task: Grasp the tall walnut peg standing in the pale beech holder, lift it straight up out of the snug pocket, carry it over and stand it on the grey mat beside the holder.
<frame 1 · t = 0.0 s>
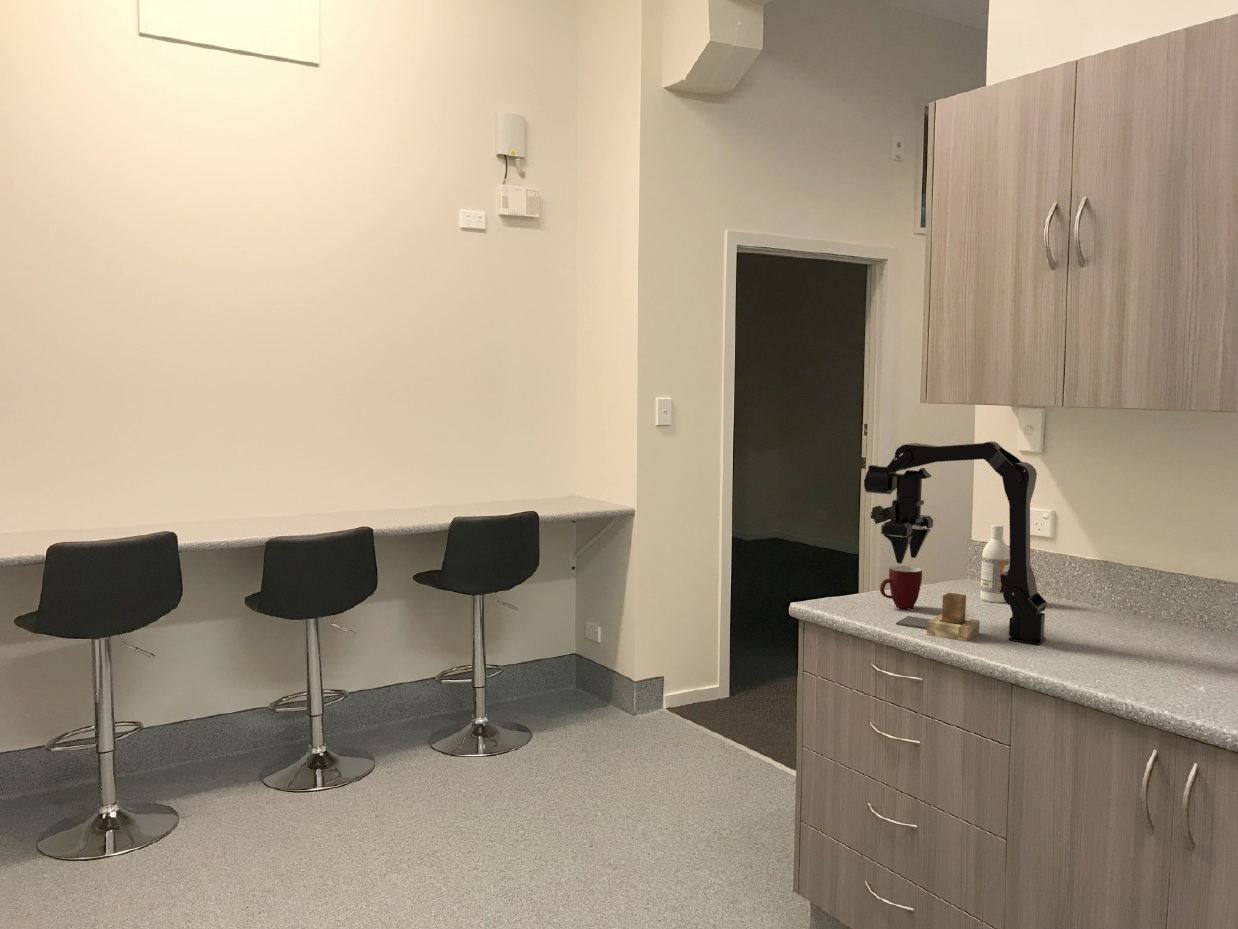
hand: (906, 560, 236), 15 cm above the counter, fingers open, 9 cm apart
peg: (953, 634, 225), resting in holder
mat: (918, 623, 234), on the counter
bath foam: (994, 601, 259), on the counter
mug: (899, 608, 250), on the counter
holder: (953, 633, 225), on the counter
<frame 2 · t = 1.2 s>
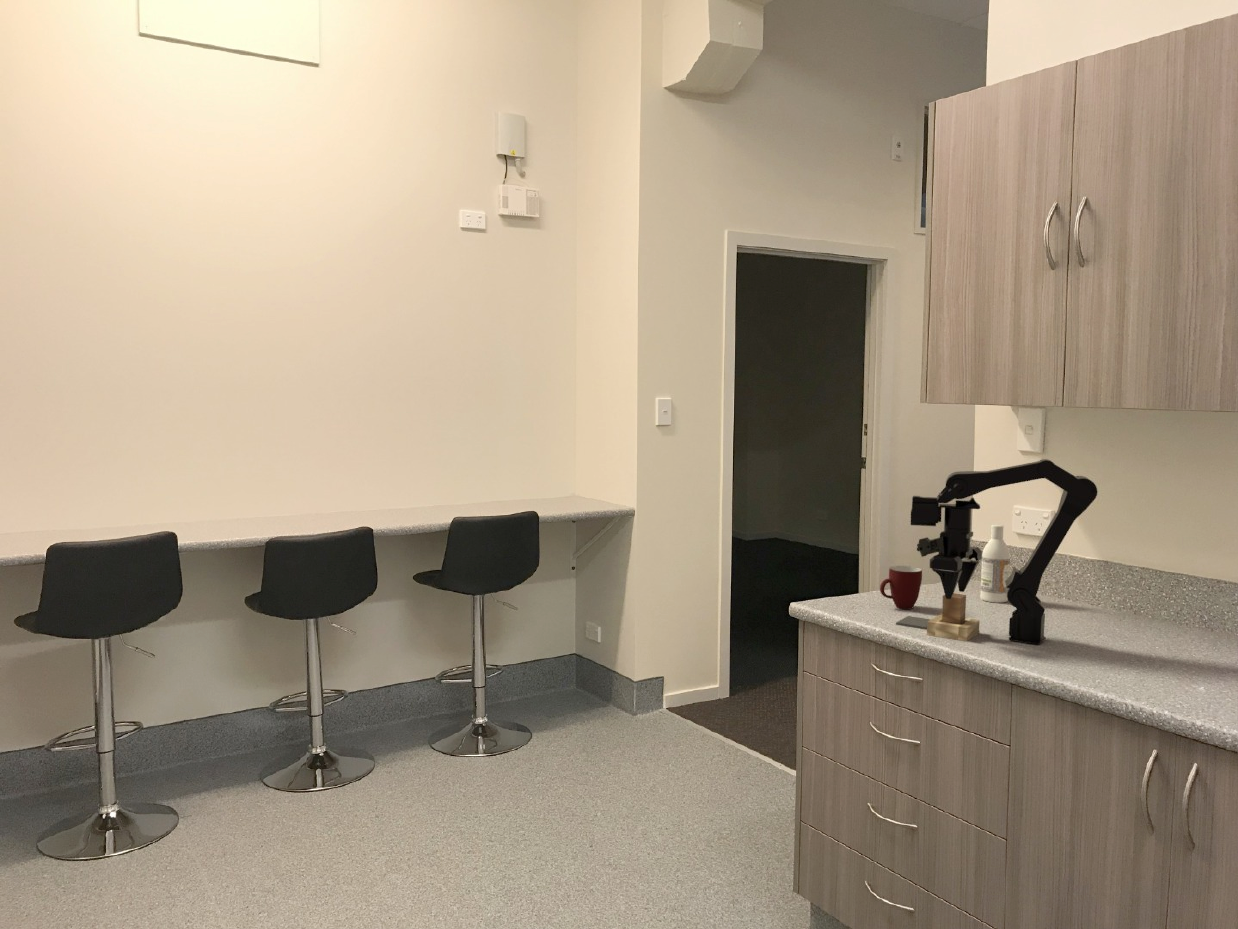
hand: (955, 595, 224), 9 cm above the counter, fingers open, 9 cm apart
nothing on the counter moved.
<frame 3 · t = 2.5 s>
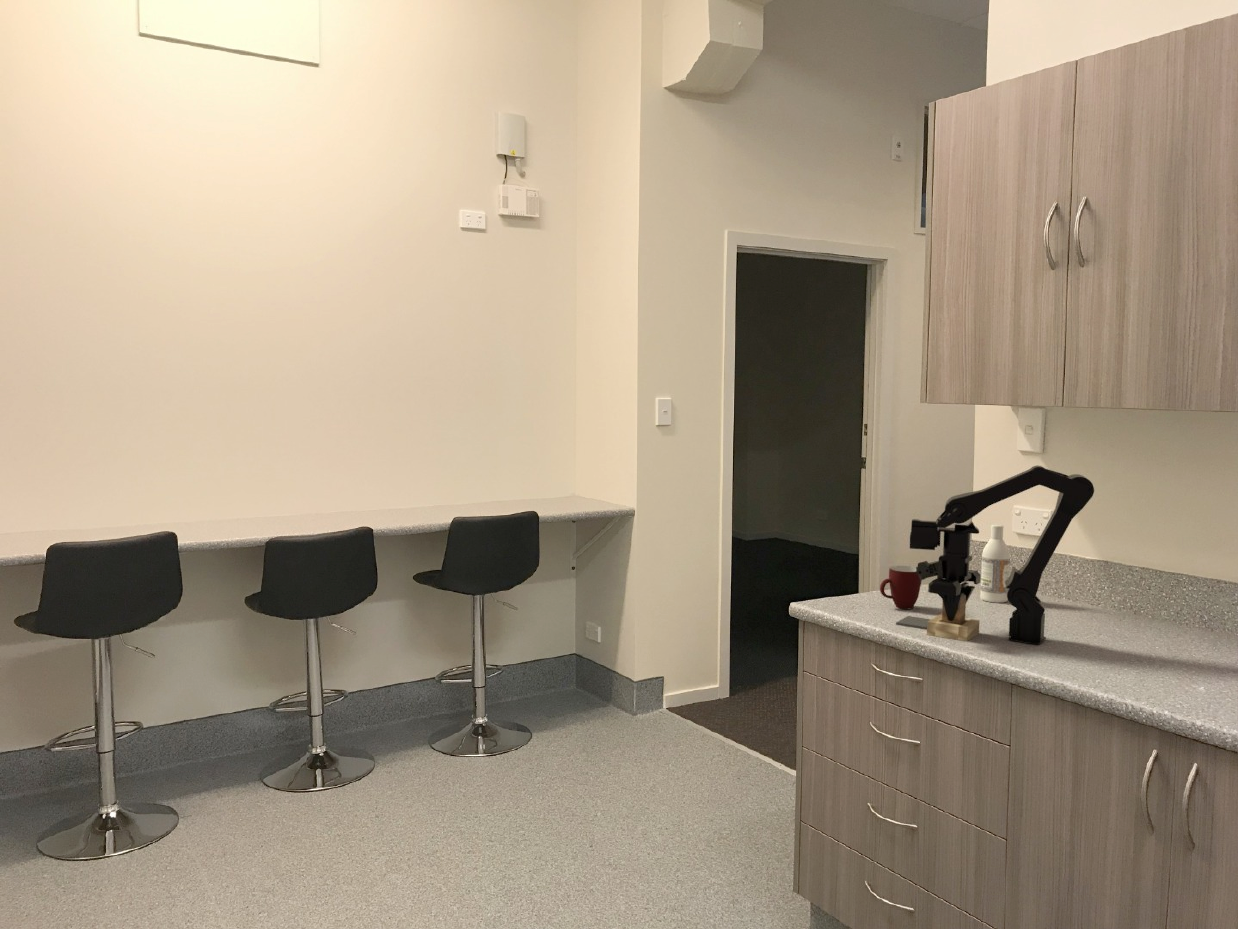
hand: (953, 618, 225), 4 cm above the counter, fingers closed on peg, 4 cm apart
peg: (952, 633, 225), resting in holder, touching gripper
everything else where it was.
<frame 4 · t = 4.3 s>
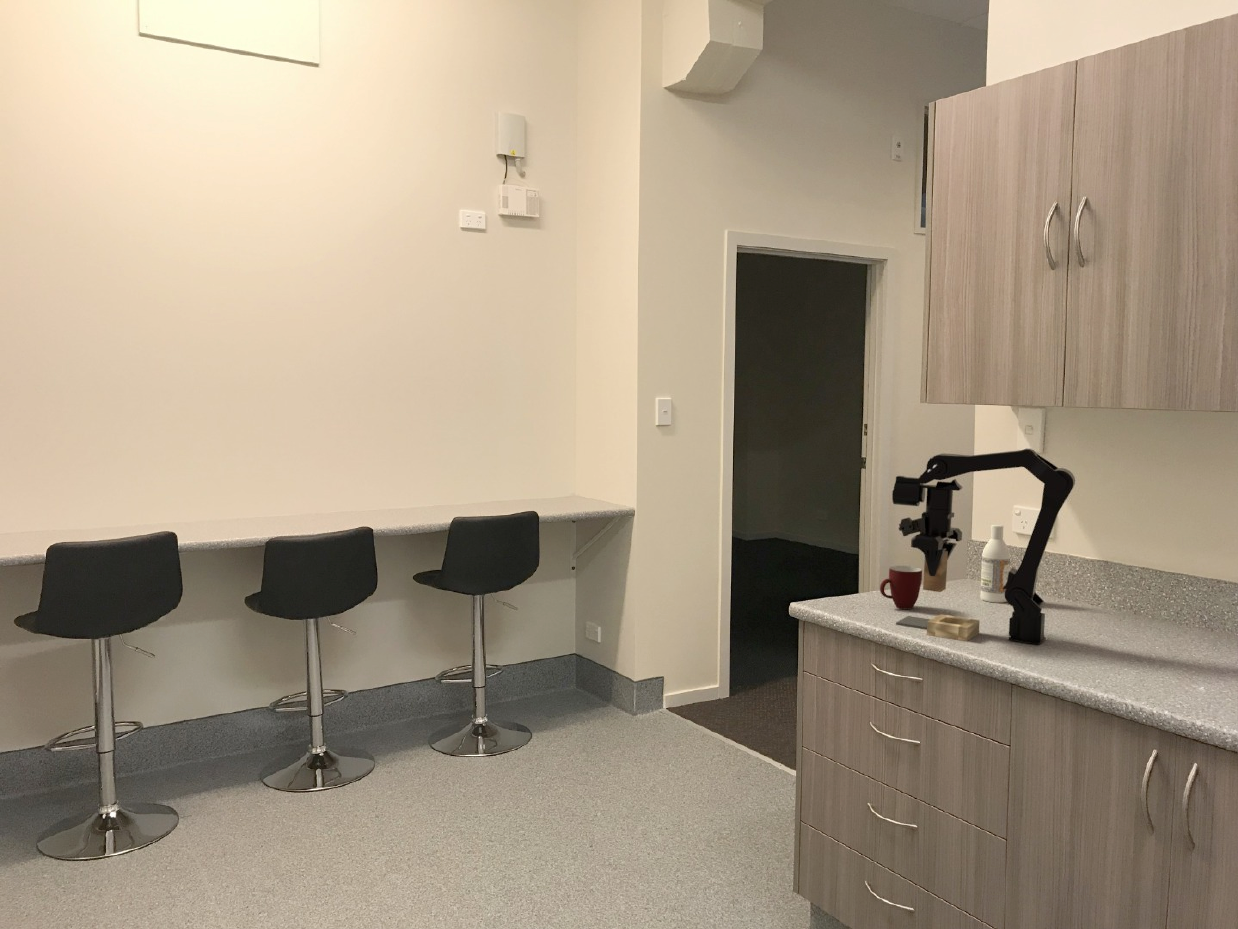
hand: (935, 574, 229), 13 cm above the counter, fingers closed on peg, 4 cm apart
peg: (934, 589, 229), point 9 cm above the counter, touching gripper
everything else where it was.
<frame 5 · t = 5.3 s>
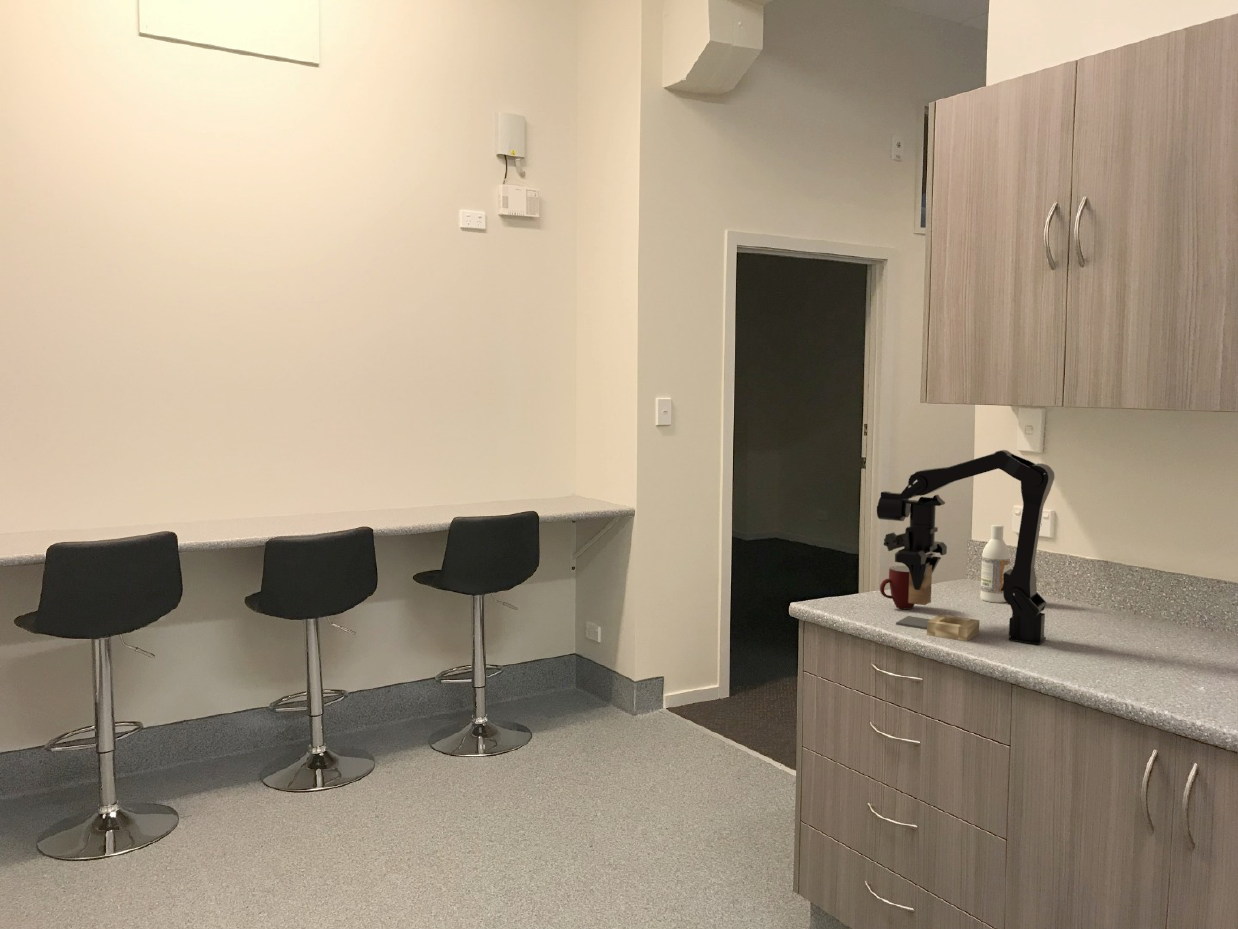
hand: (920, 588, 233), 9 cm above the counter, fingers closed on peg, 4 cm apart
peg: (919, 602, 234), point 5 cm above the counter, touching gripper
everything else where it was.
when the fingers open (5 cm above the counter, at t = 6.3 s): peg stays where it is, resting on mat.
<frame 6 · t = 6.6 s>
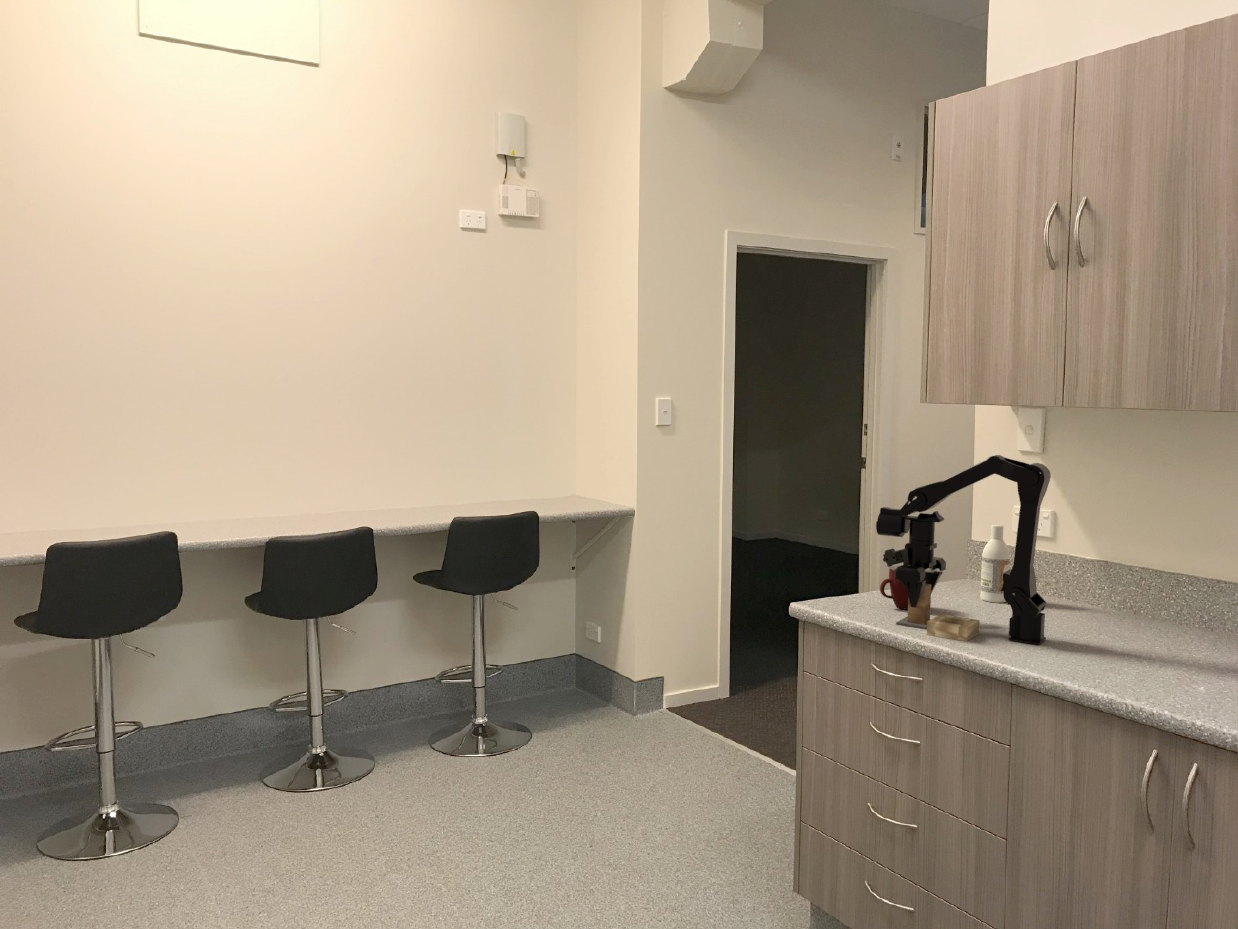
hand: (919, 604, 234), 5 cm above the counter, fingers open, 8 cm apart
peg: (918, 621, 234), resting on mat
everything else where it was.
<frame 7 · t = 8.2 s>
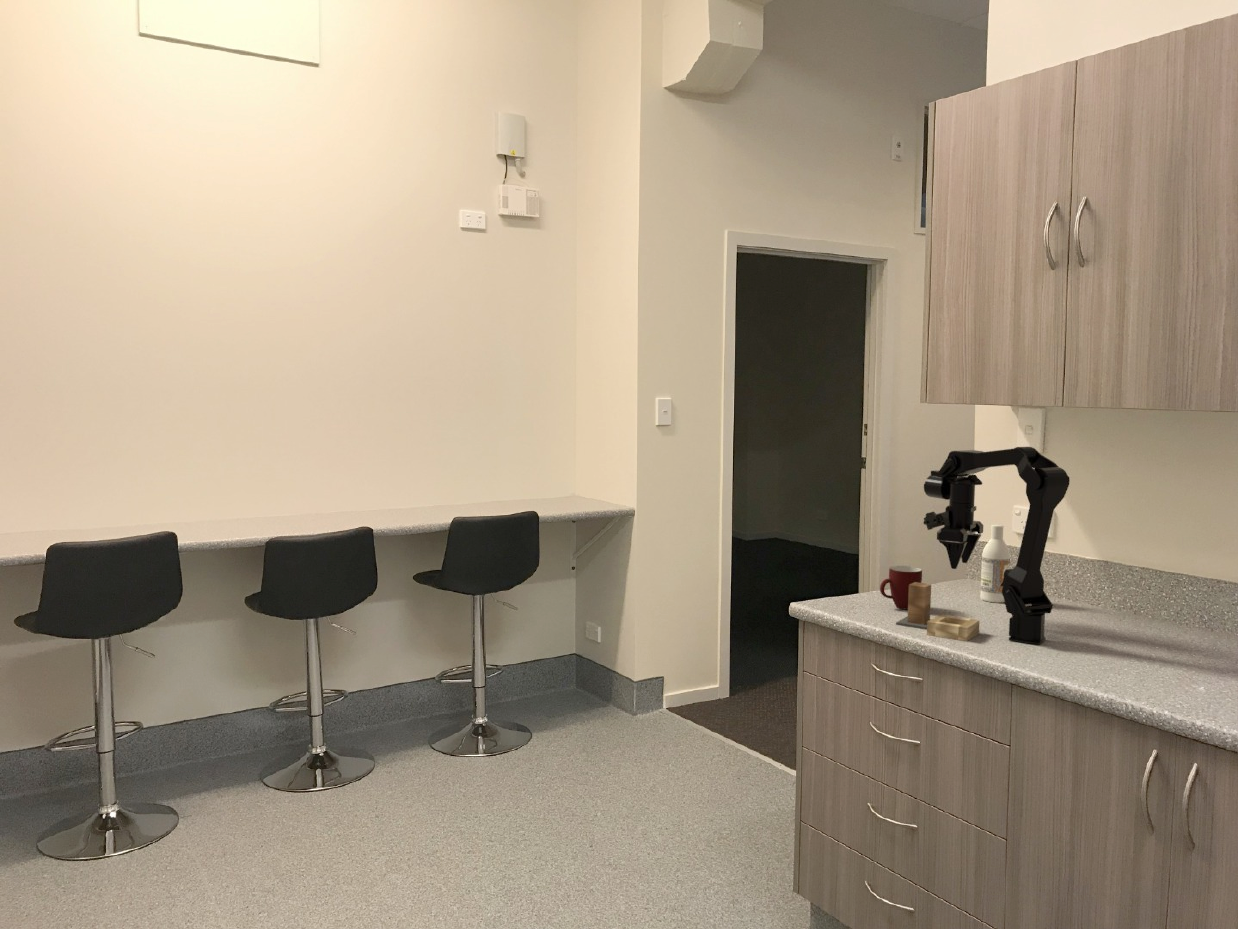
hand: (959, 565, 239), 13 cm above the counter, fingers open, 9 cm apart
nothing on the counter moved.
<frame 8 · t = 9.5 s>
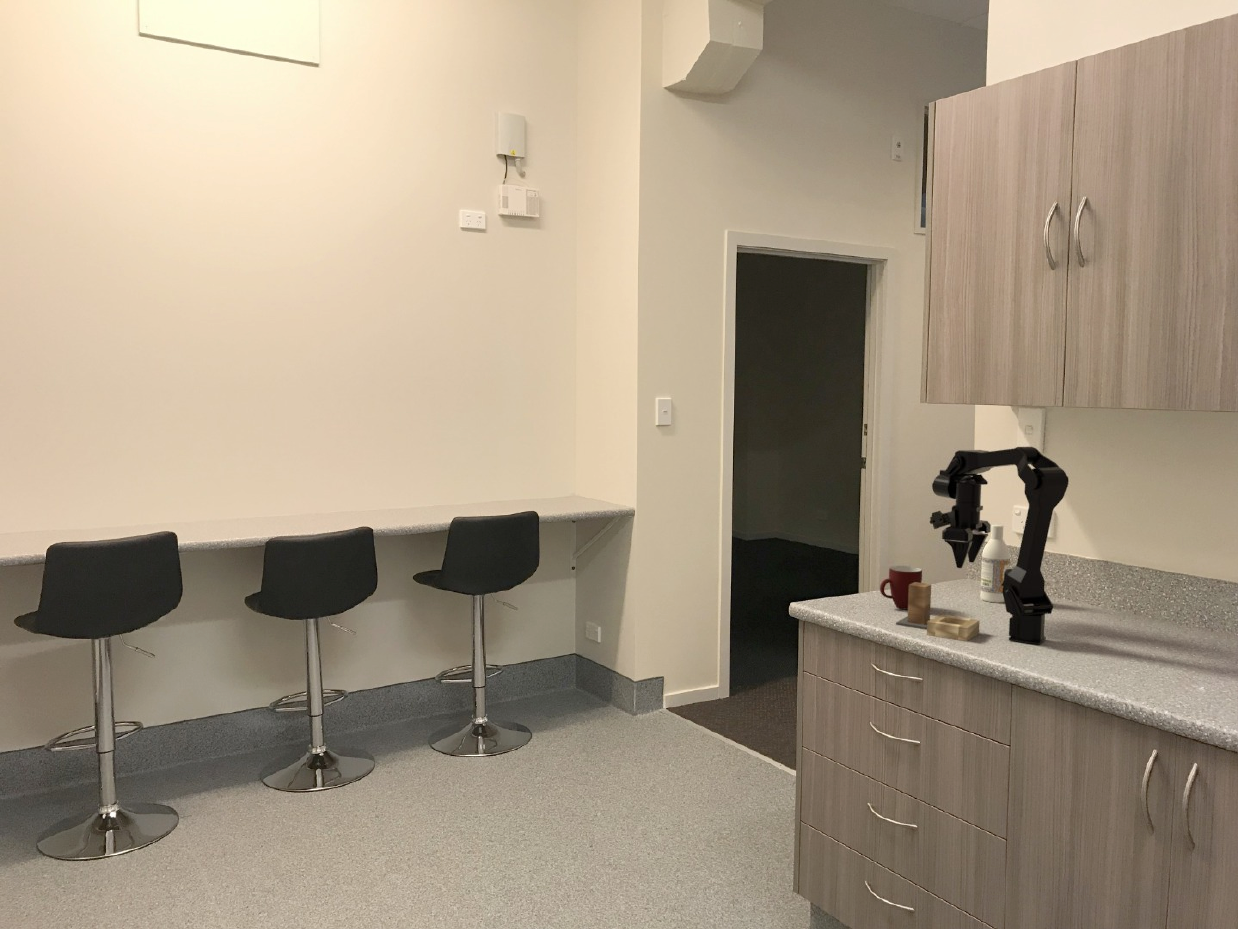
hand: (965, 565, 239), 13 cm above the counter, fingers open, 9 cm apart
nothing on the counter moved.
at the end: peg inside the target area on the mat (0.0 cm from its centre), point 0.5 cm above the mat's base; peg tilted 0°; the gripper is holding nothing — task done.
